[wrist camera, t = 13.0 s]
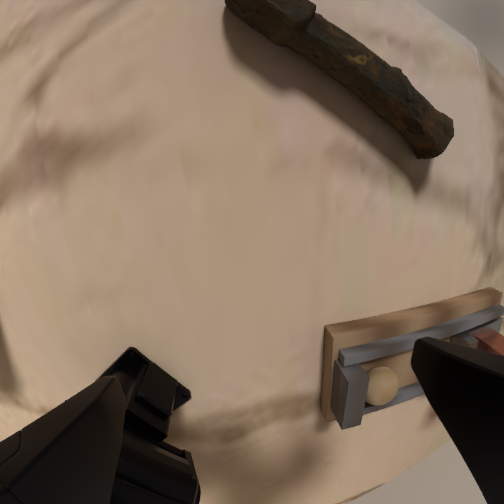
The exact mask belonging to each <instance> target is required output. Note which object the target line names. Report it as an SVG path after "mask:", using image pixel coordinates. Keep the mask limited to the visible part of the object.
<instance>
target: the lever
mask: <svg viewBox="0 0 504 504" xmlns="http://www.w3.org/2000/svg"><path fill="white" fill-rule="evenodd" d="M502 319H503V318H501V317H498V318H495V319H493V320H491V321H488V322H486V323H484V324H481V325H479V326H476V327H474V328H471V329H469V330H466V331H463V332H461V333H458V334H455V335H452V339H451V343H454V344H458V345H462V346H466V347H470V348H474V349H478V350H482V351H486V352H490V353H494V354H498V355H502V356H504V336H502V335H501V334H499V331H500V327H501V323H502Z"/></svg>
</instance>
